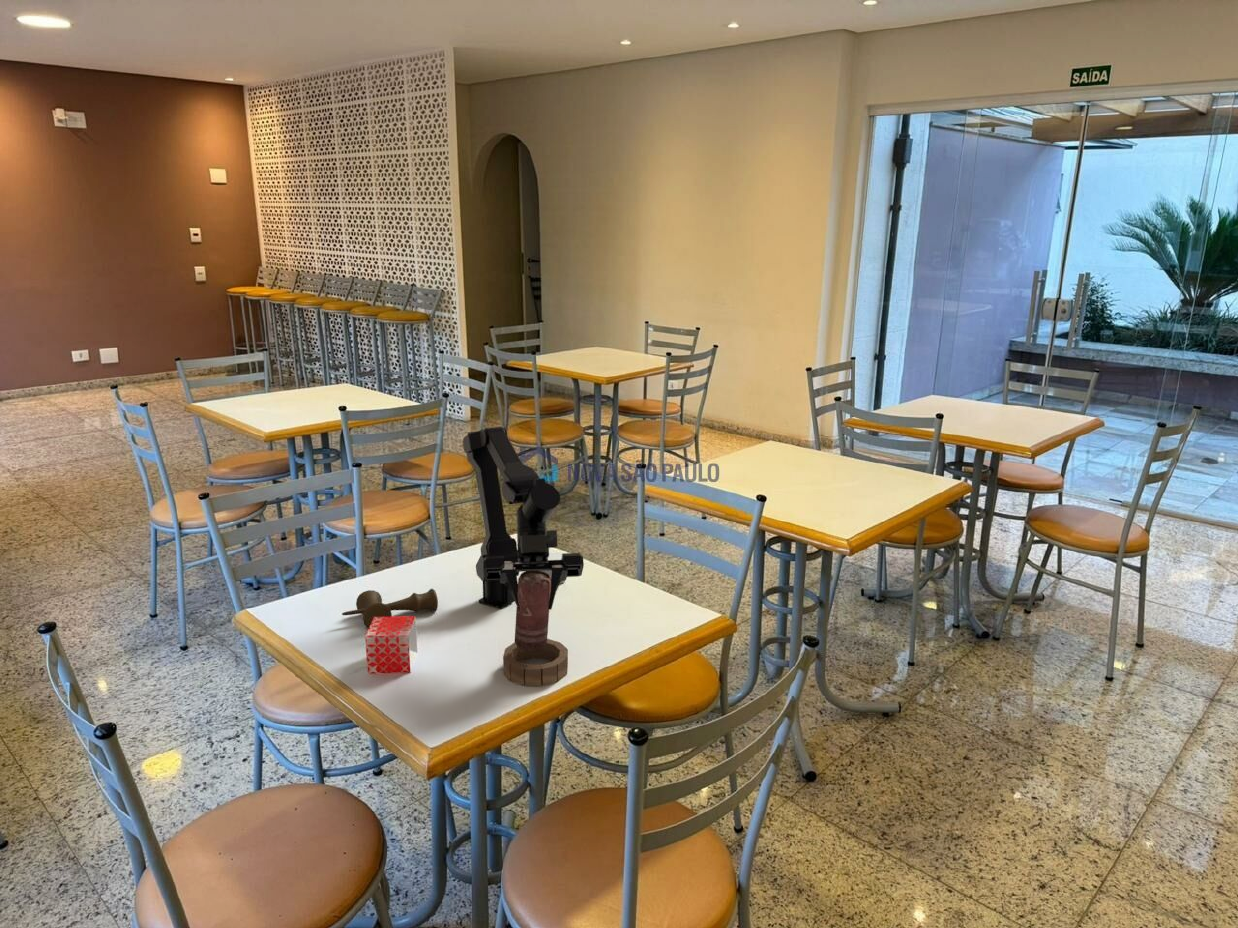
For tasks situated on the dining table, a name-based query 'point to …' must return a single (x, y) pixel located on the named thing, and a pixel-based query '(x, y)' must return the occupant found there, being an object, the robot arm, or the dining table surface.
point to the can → (532, 610)
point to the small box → (554, 557)
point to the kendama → (391, 605)
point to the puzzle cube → (391, 645)
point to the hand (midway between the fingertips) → (535, 609)
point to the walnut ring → (536, 673)
